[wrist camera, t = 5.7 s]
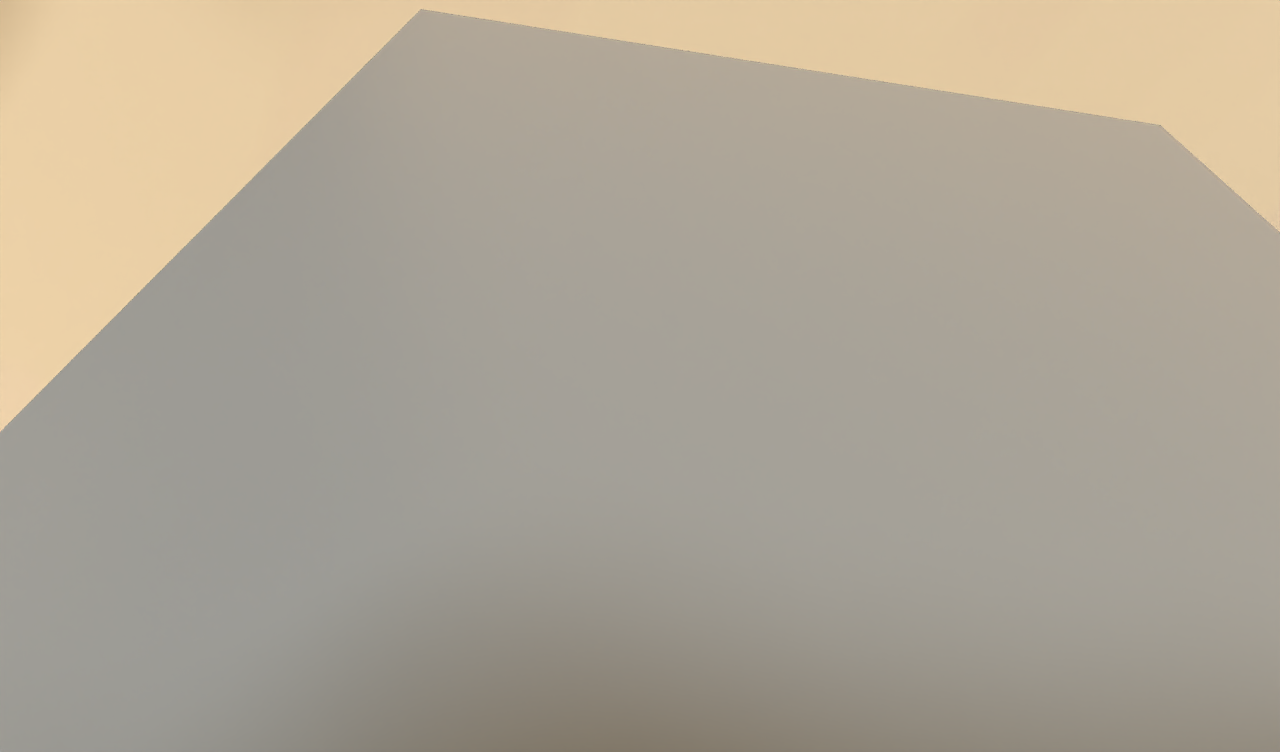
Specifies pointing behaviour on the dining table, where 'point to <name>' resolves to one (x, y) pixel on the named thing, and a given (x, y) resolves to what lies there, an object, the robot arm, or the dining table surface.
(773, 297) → the grey faceted block
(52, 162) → the dining table surface
